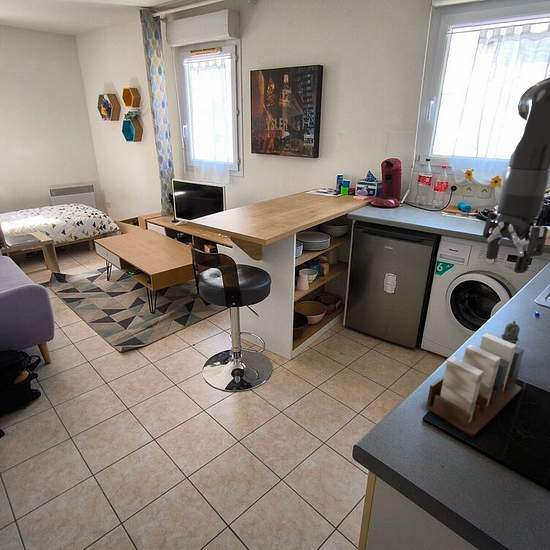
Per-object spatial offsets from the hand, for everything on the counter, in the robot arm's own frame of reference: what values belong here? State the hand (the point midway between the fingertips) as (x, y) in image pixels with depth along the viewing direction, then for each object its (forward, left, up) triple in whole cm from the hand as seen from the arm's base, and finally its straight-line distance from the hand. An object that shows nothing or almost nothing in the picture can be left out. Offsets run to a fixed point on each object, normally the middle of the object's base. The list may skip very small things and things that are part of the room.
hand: (504, 265), depth 80 cm
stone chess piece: (-3, -4, -26) cm, 27 cm away
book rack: (-5, +14, -26) cm, 30 cm away
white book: (-5, +8, -25) cm, 27 cm away
